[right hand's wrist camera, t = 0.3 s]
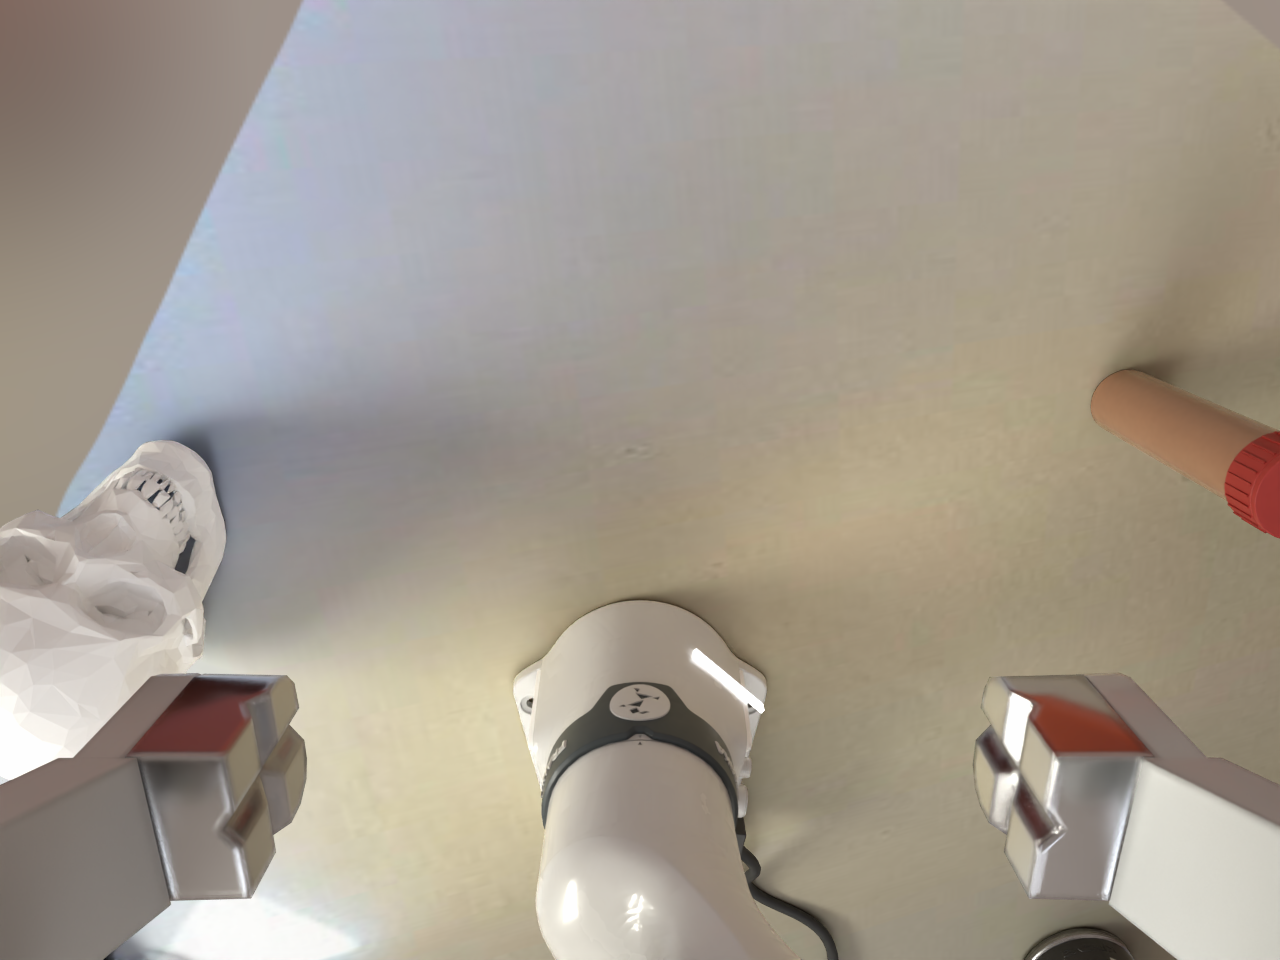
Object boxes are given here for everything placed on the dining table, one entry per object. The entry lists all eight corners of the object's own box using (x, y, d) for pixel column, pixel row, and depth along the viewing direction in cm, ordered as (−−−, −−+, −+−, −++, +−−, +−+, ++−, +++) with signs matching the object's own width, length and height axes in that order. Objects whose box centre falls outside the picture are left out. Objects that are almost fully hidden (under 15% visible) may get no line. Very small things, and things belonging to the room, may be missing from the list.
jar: (1092, 438, 59) (1256, 539, 44) (1087, 378, 58) (1255, 460, 42) (1157, 423, 59) (1346, 520, 43) (1154, 362, 58) (1348, 439, 42)
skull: (281, 468, 60) (152, 567, 45) (199, 718, 67) (63, 875, 52) (89, 388, 58) (-111, 463, 44) (25, 652, 65) (-166, 794, 50)
